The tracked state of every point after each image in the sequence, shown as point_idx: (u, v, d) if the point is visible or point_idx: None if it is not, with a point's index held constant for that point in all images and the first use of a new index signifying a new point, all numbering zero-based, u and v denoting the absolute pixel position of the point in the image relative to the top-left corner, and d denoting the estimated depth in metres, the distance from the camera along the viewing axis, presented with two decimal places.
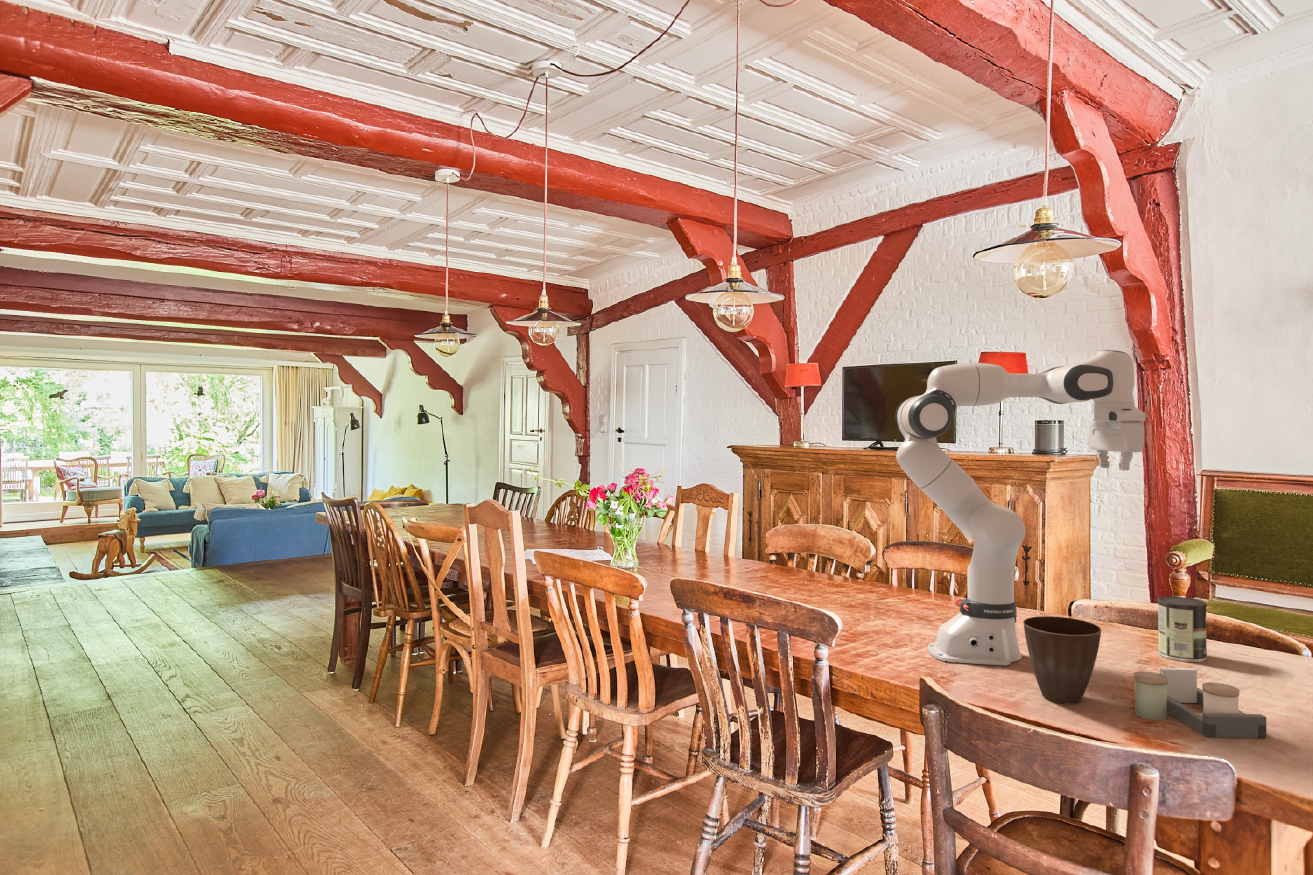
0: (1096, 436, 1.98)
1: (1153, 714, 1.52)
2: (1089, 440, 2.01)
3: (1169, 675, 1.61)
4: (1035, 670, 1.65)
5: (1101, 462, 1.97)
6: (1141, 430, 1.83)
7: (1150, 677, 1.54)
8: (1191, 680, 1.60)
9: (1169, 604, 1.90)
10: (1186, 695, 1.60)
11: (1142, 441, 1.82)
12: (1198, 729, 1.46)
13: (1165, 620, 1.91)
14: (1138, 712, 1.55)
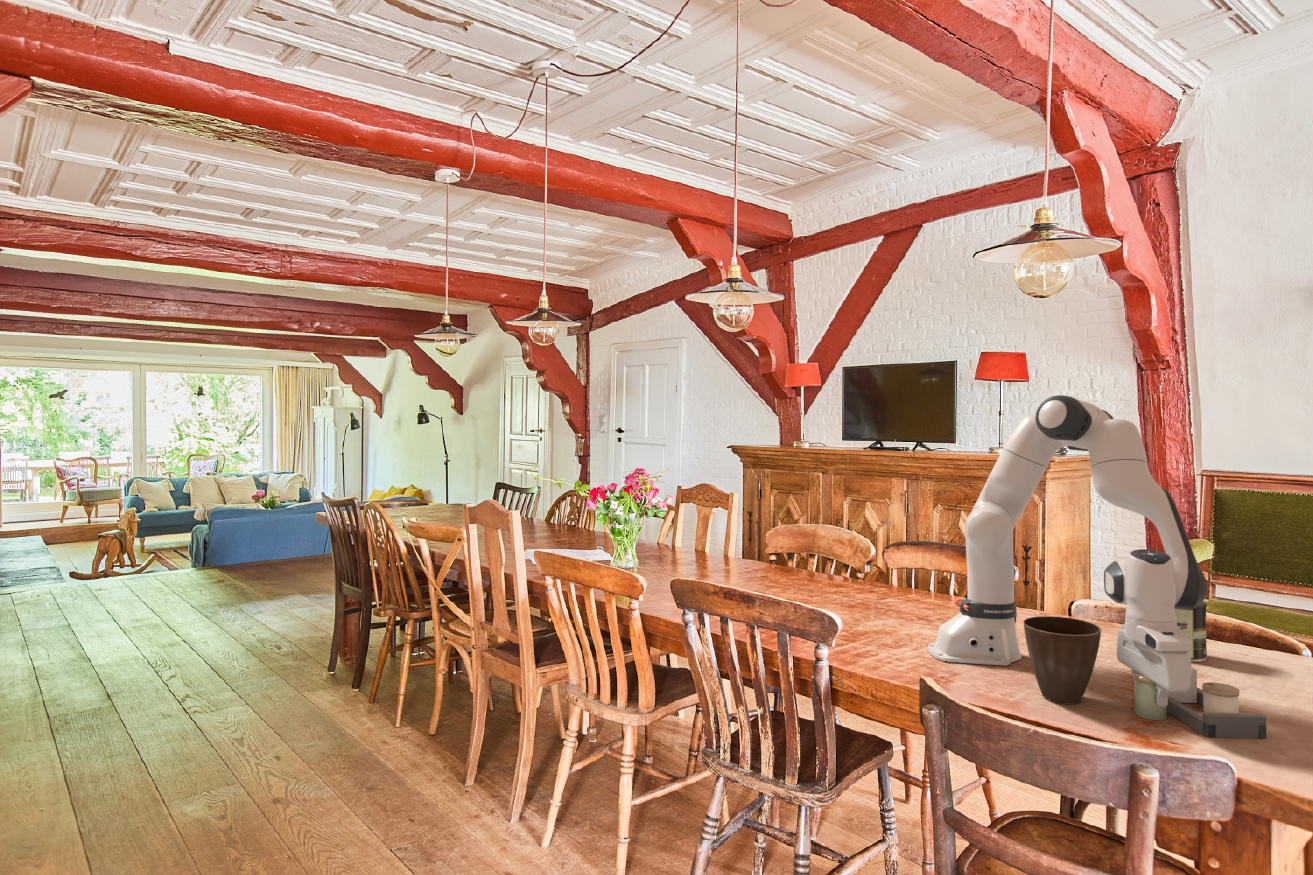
0: (1127, 650, 1.60)
1: (1153, 714, 1.52)
2: (1118, 650, 1.64)
3: None
4: (1035, 670, 1.65)
5: None
6: (1187, 664, 1.45)
7: None
8: (1191, 680, 1.60)
9: None
10: (1186, 695, 1.60)
11: (1189, 679, 1.45)
12: (1198, 729, 1.46)
13: None
14: (1138, 712, 1.55)
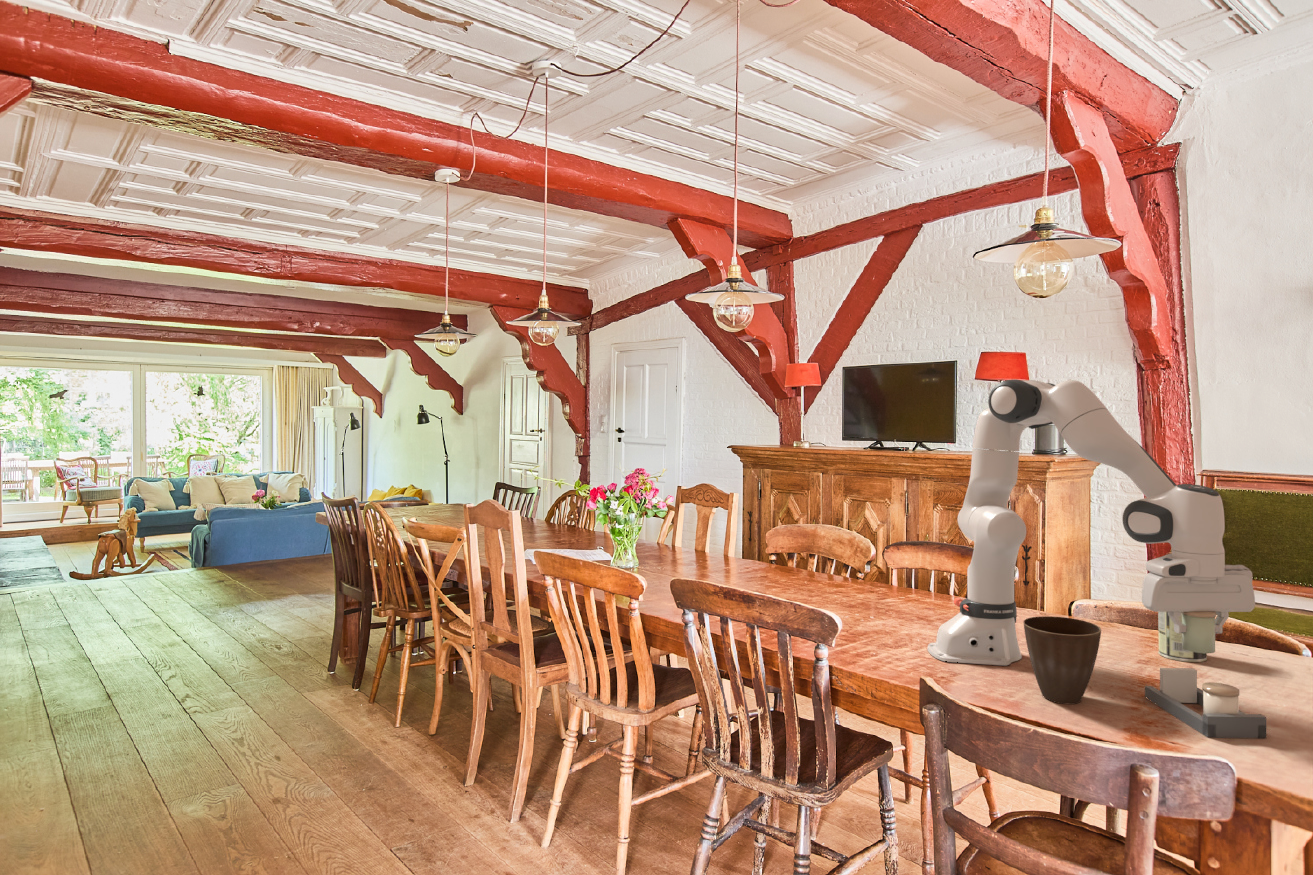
0: None
1: (1182, 642, 1.55)
2: None
3: (1169, 675, 1.61)
4: (1035, 670, 1.65)
5: None
6: (1152, 585, 1.54)
7: None
8: (1191, 680, 1.60)
9: None
10: (1186, 695, 1.60)
11: (1151, 598, 1.53)
12: (1198, 729, 1.46)
13: (1165, 620, 1.91)
14: None
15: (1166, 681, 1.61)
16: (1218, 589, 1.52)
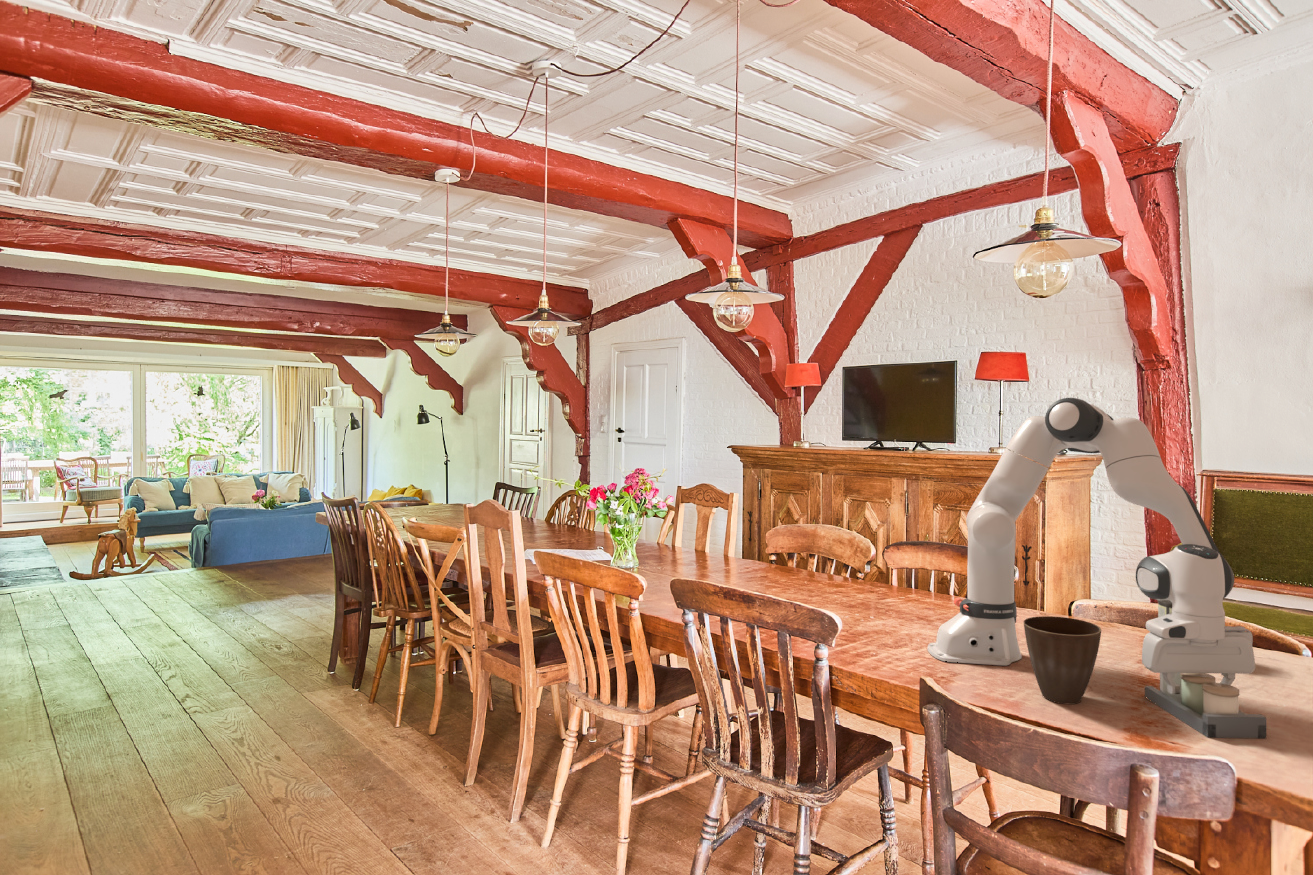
0: None
1: None
2: None
3: None
4: (1035, 670, 1.65)
5: None
6: (1152, 646, 1.54)
7: (1193, 675, 1.55)
8: None
9: (1169, 604, 1.90)
10: None
11: (1151, 659, 1.54)
12: (1198, 729, 1.46)
13: None
14: None
15: None
16: (1218, 650, 1.53)
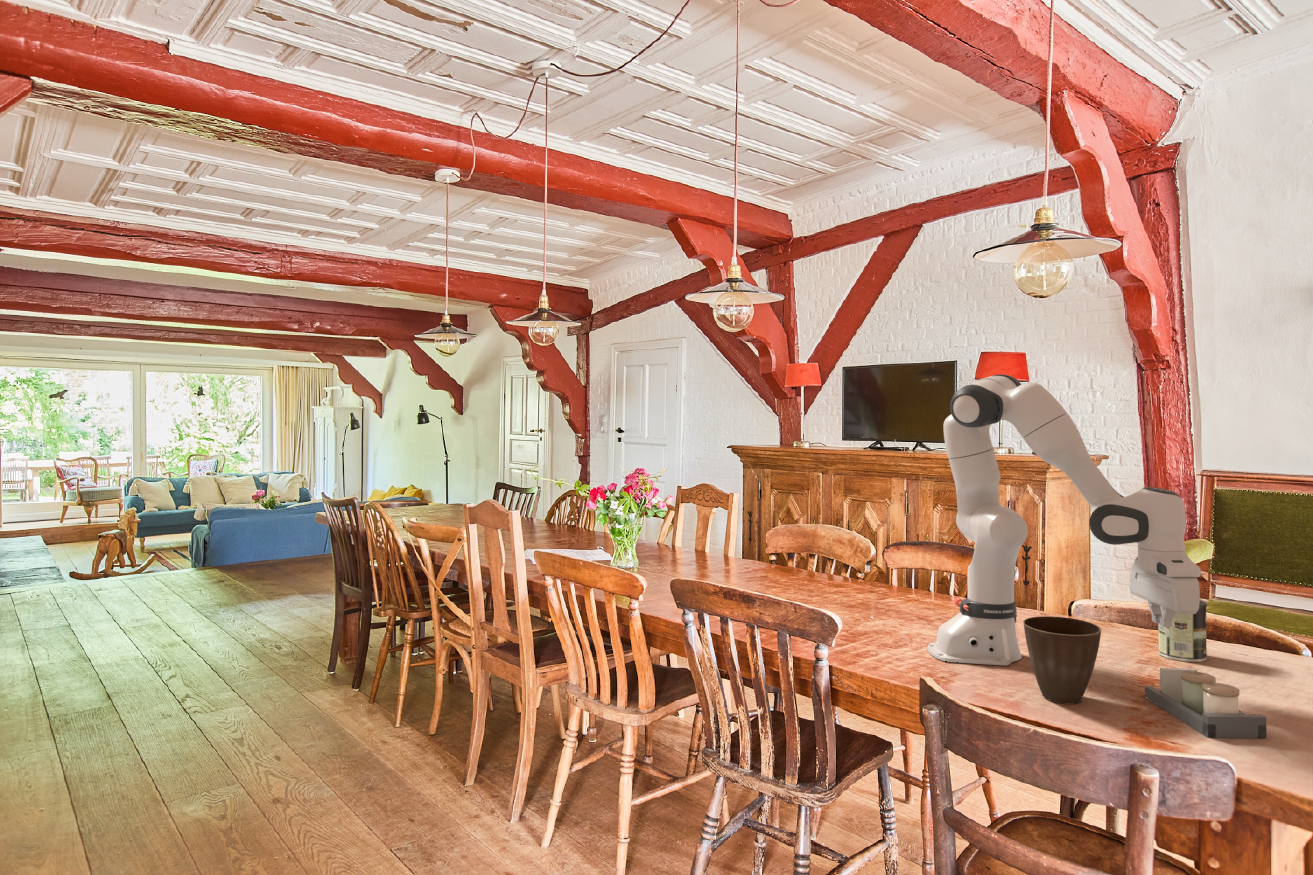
0: (1140, 582, 1.72)
1: None
2: (1131, 583, 1.76)
3: (1169, 675, 1.61)
4: (1035, 670, 1.65)
5: (1154, 616, 1.68)
6: (1195, 588, 1.57)
7: (1193, 675, 1.55)
8: None
9: None
10: None
11: (1197, 602, 1.57)
12: (1198, 729, 1.46)
13: None
14: None
15: (1166, 681, 1.61)
16: None
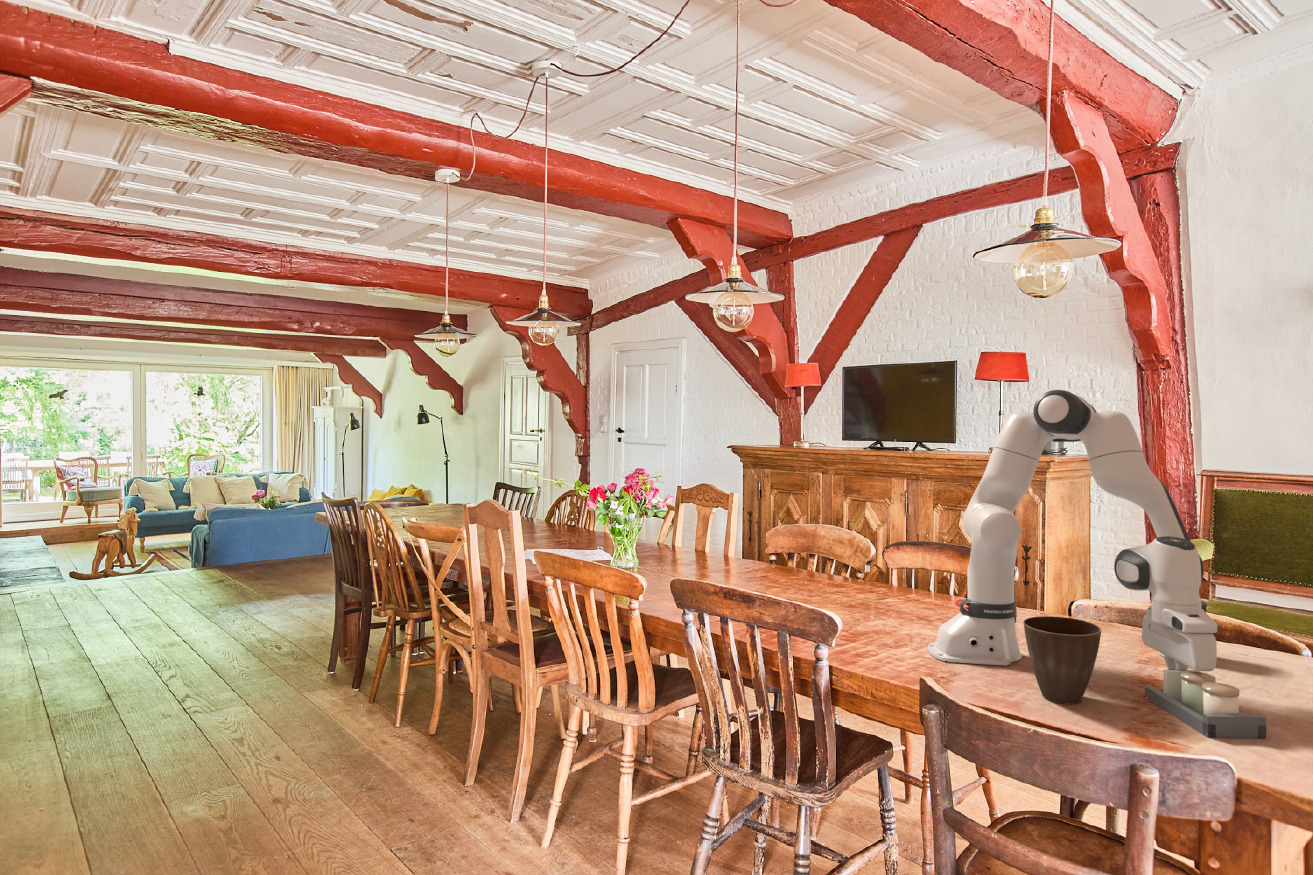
0: (1153, 633, 1.67)
1: None
2: (1143, 634, 1.71)
3: (1173, 677, 1.59)
4: (1035, 670, 1.65)
5: None
6: (1212, 645, 1.52)
7: (1193, 674, 1.55)
8: None
9: None
10: None
11: (1214, 659, 1.52)
12: (1198, 729, 1.46)
13: None
14: None
15: (1170, 683, 1.59)
16: None
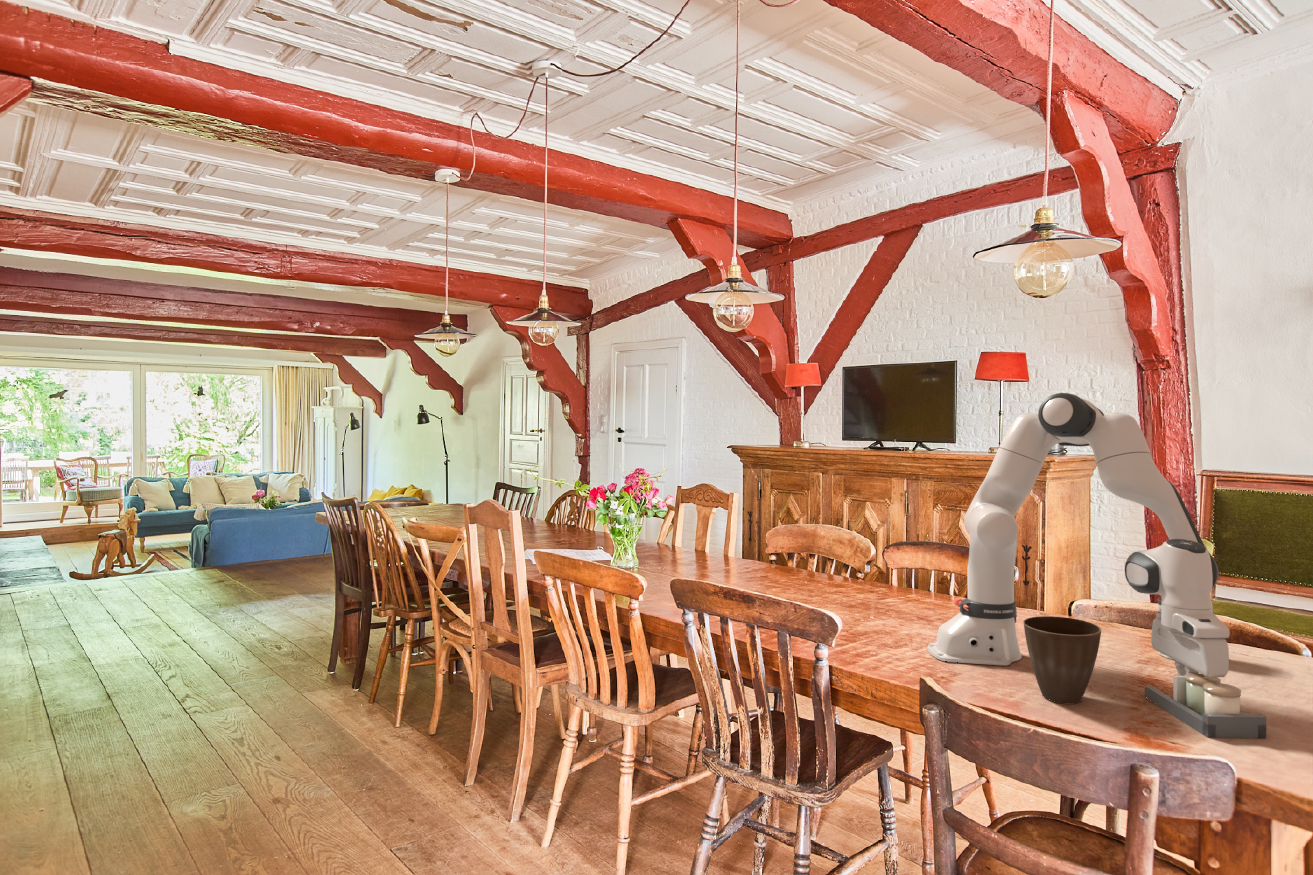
0: (1163, 638, 1.64)
1: None
2: (1153, 638, 1.67)
3: (1183, 683, 1.56)
4: (1035, 670, 1.65)
5: None
6: (1224, 650, 1.49)
7: (1198, 676, 1.53)
8: None
9: None
10: None
11: (1226, 665, 1.48)
12: (1198, 729, 1.46)
13: None
14: None
15: (1180, 689, 1.56)
16: None
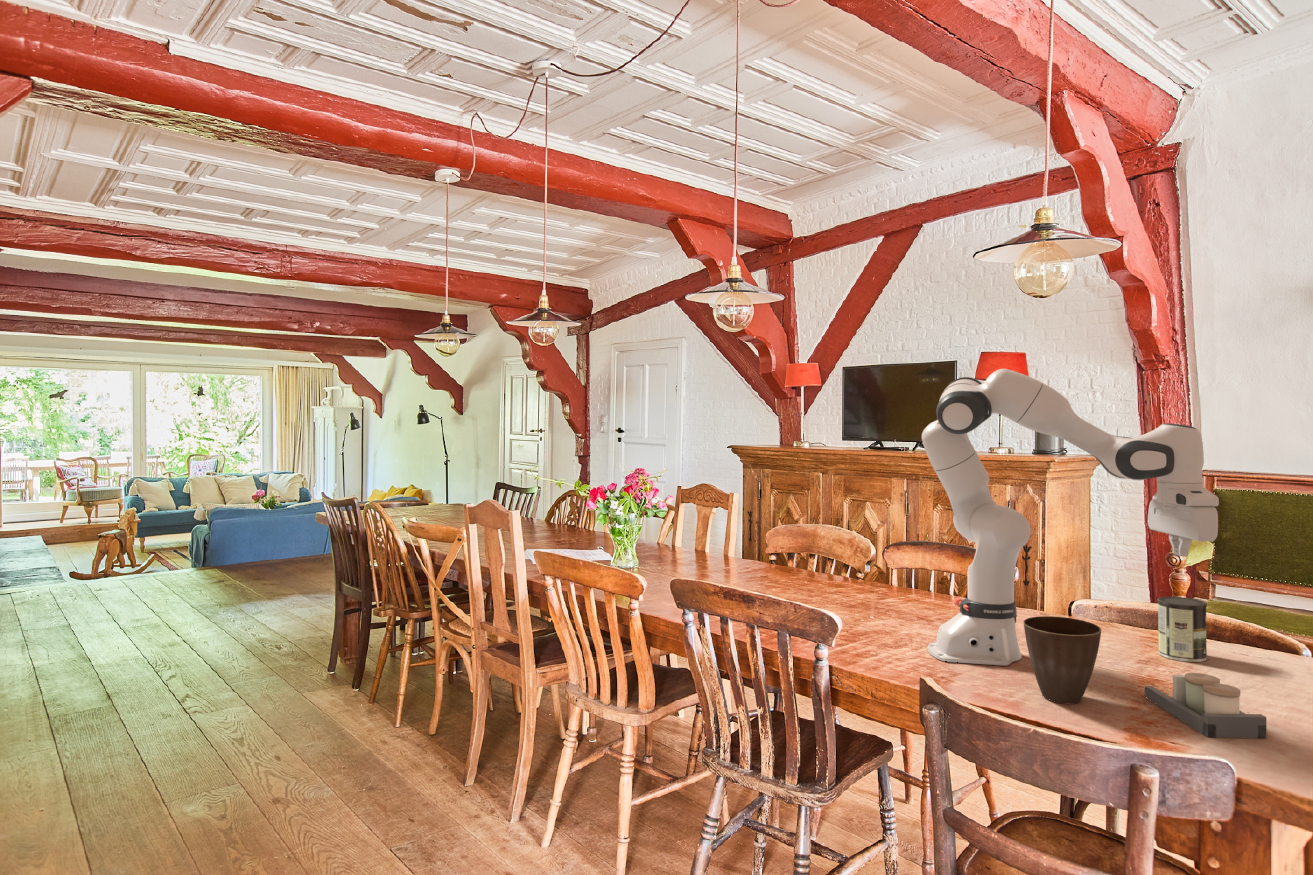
0: (1158, 516, 1.78)
1: None
2: (1149, 519, 1.82)
3: (1182, 682, 1.56)
4: (1035, 670, 1.65)
5: (1174, 548, 1.73)
6: (1214, 516, 1.63)
7: (1197, 677, 1.54)
8: None
9: (1169, 604, 1.90)
10: None
11: (1216, 529, 1.63)
12: (1198, 729, 1.46)
13: (1165, 620, 1.91)
14: None
15: (1179, 689, 1.56)
16: None
